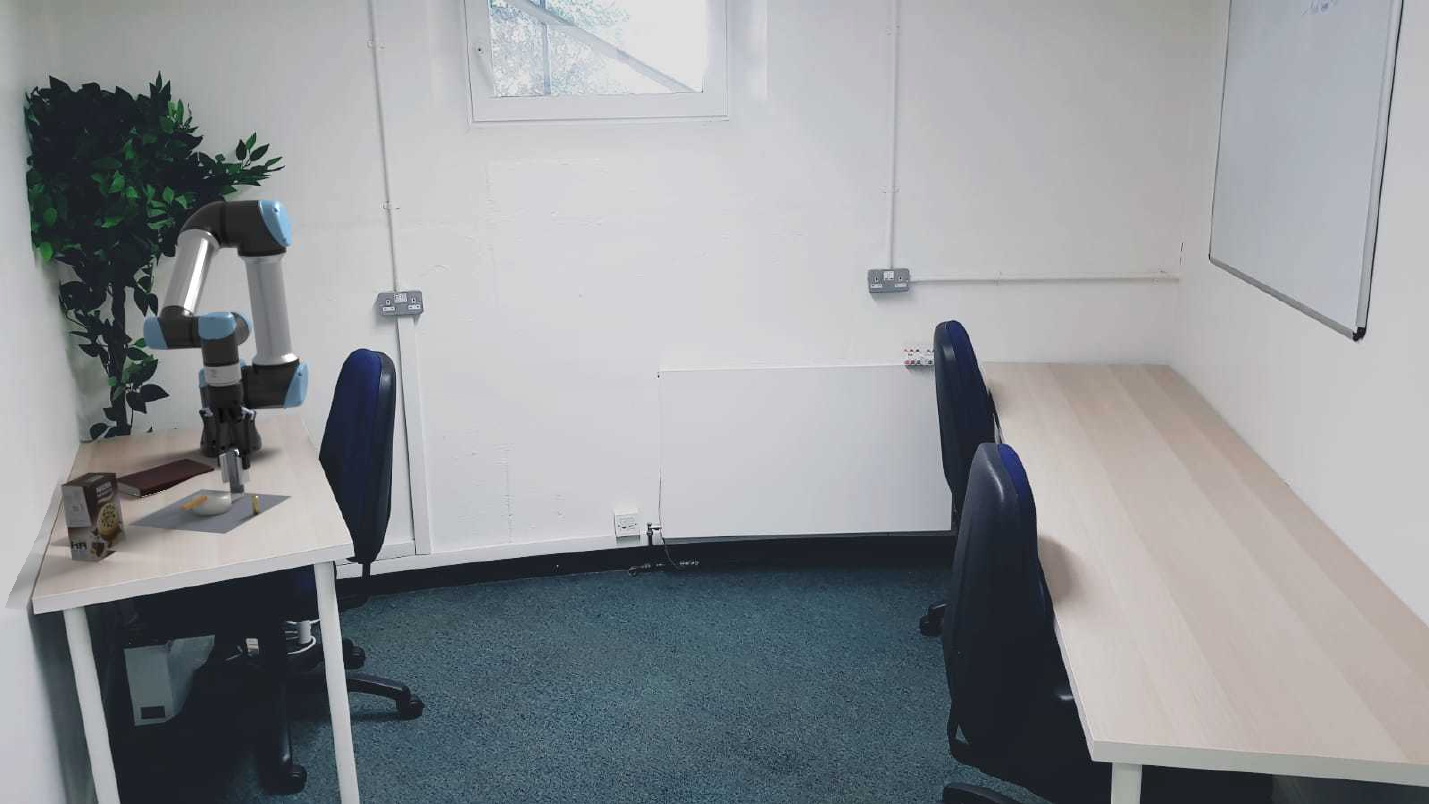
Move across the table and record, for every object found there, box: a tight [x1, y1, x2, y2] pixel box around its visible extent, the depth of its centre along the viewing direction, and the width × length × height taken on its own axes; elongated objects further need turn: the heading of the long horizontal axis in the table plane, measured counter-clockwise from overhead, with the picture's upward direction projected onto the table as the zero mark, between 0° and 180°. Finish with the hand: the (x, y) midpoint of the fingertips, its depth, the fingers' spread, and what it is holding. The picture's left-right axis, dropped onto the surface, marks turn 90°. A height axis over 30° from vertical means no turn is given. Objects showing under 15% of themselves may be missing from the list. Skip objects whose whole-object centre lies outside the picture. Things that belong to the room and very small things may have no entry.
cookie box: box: [60, 471, 126, 563], centre depth 245 cm, size 9×6×16 cm
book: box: [116, 458, 215, 498], centre depth 291 cm, size 12×19×3 cm, turn 145°
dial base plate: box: [128, 488, 292, 534], centre depth 267 cm, size 24×24×6 cm
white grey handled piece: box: [181, 448, 245, 516], centre depth 266 cm, size 20×8×11 cm, turn 165°
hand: (236, 481), depth 274 cm, fingers open, 4 cm apart
